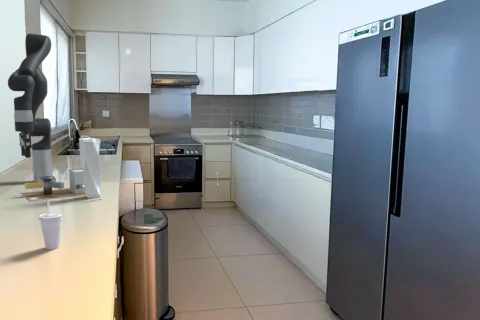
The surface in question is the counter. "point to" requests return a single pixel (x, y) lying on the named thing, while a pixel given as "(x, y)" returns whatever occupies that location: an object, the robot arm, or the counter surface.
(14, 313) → the counter surface
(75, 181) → the stand
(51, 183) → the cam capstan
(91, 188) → the skyscraper
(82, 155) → the cylindrical container
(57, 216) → the smoothie
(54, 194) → the walnut board
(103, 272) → the counter surface
